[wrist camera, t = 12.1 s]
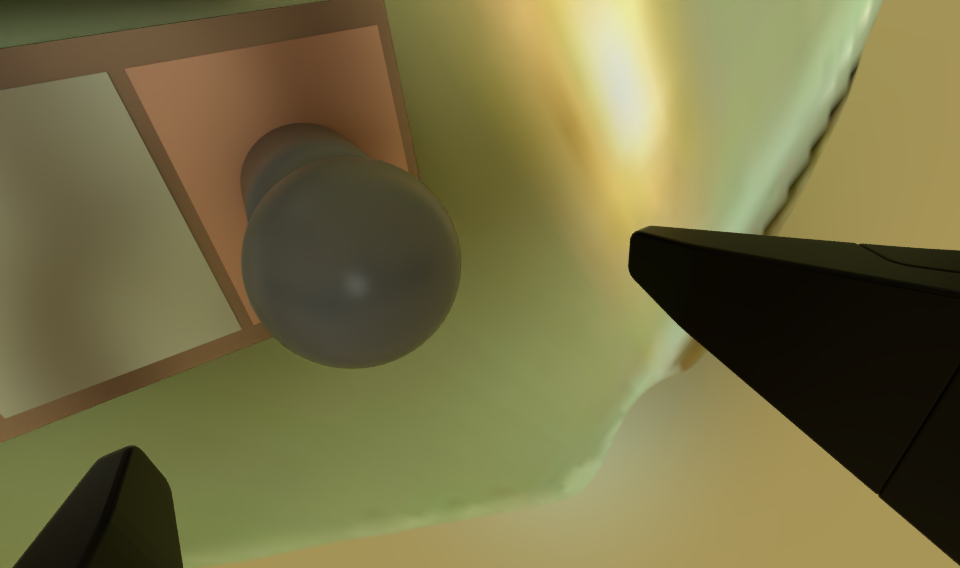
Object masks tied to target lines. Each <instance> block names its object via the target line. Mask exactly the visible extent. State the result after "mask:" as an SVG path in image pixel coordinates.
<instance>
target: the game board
mask: <svg viewBox="0 0 960 568" xmlns="http://www.w3.org/2000/svg"><path fill="white" fill-rule="evenodd" d="M294 123H312V124H318V125H321V126H325V127H327V128H330V129H332V130H334V131H336V132H338V133H340V134H341V135H342V136H344V137H345V138H347V139H348V140H349V141H350V142H352V143H353V144H354V145H355V146H356V147H358V148H359V149H360V150H361V151H363V152H364V153H365V154H366V155H368V156H369V157H370V158H372V159H377V160H381V161H384V162H387V163H390V164H392V165H395V166H397V167H399V168H401V169H403V170H405V171H406V172H408V173H410V174H412V175H413V176H415V177H416V178H417V179H419V180H420V177H419V172H418V167H417V162H416V157H415V152H414V148H413V143H412V138H411V133H410V128H409V123H408V118H407V113H406V108H405V103H404V98H403V93H402V88H401V83H400V78H399V73H398V68H397V63H396V58H395V53H394V48H393V43H392V38H391V33H390V28H389V23H388V18H387V13H386V8H385V3H384V0H327V1H320V2H314V3H307V4H300V5H293V6H286V7H280V8H273V9H266V10H259V11H252V12H246V13H239V14H232V15H225V16H219V17H212V18H205V19H198V20H191V21H185V22H178V23H171V24H164V25H157V26H151V27H144V28H137V29H130V30H123V31H117V32H110V33H103V34H96V35H89V36H83V37H76V38H69V39H62V40H56V41H49V42H42V43H35V44H28V45H22V46H15V47H8V48H1V49H0V443H1V442H4V441H6V440H9V439H11V438H14V437H16V436H19V435H21V434H24V433H27V432H29V431H32V430H34V429H37V428H39V427H42V426H45V425H47V424H50V423H52V422H55V421H57V420H60V419H62V418H65V417H68V416H70V415H73V414H75V413H78V412H80V411H83V410H86V409H88V408H91V407H93V406H96V405H98V404H101V403H104V402H106V401H109V400H111V399H114V398H116V397H119V396H121V395H124V394H127V393H129V392H132V391H134V390H137V389H139V388H142V387H145V386H147V385H150V384H152V383H155V382H157V381H160V380H162V379H165V378H168V377H170V376H173V375H175V374H178V373H180V372H183V371H186V370H188V369H191V368H193V367H196V366H198V365H201V364H204V363H206V362H209V361H211V360H214V359H216V358H219V357H221V356H224V355H227V354H229V353H232V352H234V351H237V350H239V349H242V348H245V347H247V346H250V345H252V344H255V343H257V342H260V341H262V340H265V339H268V338H270V337H273V336H272V335H271V334H270V333H269V332H268V331H267V329H266V328H265V327H264V325H263V324H262V323H261V322H260V320H259V319H258V317H257V316H256V314H255V312H254V310H253V308H252V307H251V305H250V302H249V299H248V297H247V294H246V291H245V288H244V283H243V278H242V273H241V252H242V244H243V238H244V235H245V231H246V228H247V225H248V222H247V217H246V212H245V207H244V202H243V197H242V192H241V184H240V177H241V170H242V166H243V163H244V160H245V158H246V156H247V154H248V152H249V151H250V149H251V148H252V146H253V145H254V144H255V143H256V142H257V141H258V140H259V139H260V138H261V137H262V136H264V135H265V134H267V133H268V132H270V131H271V130H273V129H276V128H278V127H280V126H284V125H288V124H294Z"/></svg>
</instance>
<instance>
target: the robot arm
mask: <svg viewBox="0 0 960 568" xmlns="http://www.w3.org/2000/svg"><path fill="white" fill-rule="evenodd" d="M628 268H629V272H630V275H631V276H632V278H633V279H634V280H635V281H636V282H637V283H638V284H639V285H640V286H641V287H642V288H643V289H644V290H645V291H646V292H647V293H648V294H649V295H650V296H651V297H652V299H653V300H654V301H655V302H656V303H657V304H658V305H659V306H660V307H661V308H662V309H663V310H664V311H665V312H666V313H667V314H668V315H669V316H670V317H671V318H672V319H673V320H674V321H675V322H676V323H677V324H678V325H679V326H680V327H681V328H682V329H683V330H684V331H686V332H687V333H688V334H689V335H690V336H691V337H692V338H694V339H695V340H696V341H697V342H698V343H699V344H701V345H702V346H703V347H704V348H705V349H706V350H708V351H709V352H710V353H711V354H712V355H714V356H715V357H716V358H717V359H718V360H719V361H721V362H722V363H723V364H724V365H725V366H727V367H728V368H729V369H730V370H731V371H732V372H733V373H735V374H736V375H737V376H738V377H740V378H741V379H742V380H743V381H744V382H745V383H746V384H748V385H749V386H750V387H751V388H753V389H754V390H755V391H756V392H757V393H758V394H760V396H762V397H763V398H764V399H765V400H766V401H768V402H769V403H770V404H771V405H772V406H773V407H775V408H776V409H777V410H778V411H780V412H781V413H782V414H783V415H784V416H785V417H786V418H788V419H789V420H790V421H791V422H792V423H793V424H795V425H796V426H797V427H798V428H799V429H800V430H802V431H803V432H804V433H805V434H806V435H808V436H809V437H810V438H811V439H812V440H813V441H814V442H816V443H817V444H818V445H819V446H821V447H822V448H823V449H824V450H825V451H826V452H827V453H829V454H830V455H831V456H832V457H833V458H834V459H836V460H837V461H838V462H839V463H840V464H842V465H843V466H844V467H845V468H846V469H847V470H849V471H850V472H851V473H852V474H853V475H854V476H856V477H857V478H858V479H859V480H860V481H862V482H863V483H864V484H865V485H866V486H867V487H868V488H870V489H871V490H872V491H873V492H874V493H876V494H878V496H879V497H880V498H881V499H882V500H883V501H884V502H885V503H887V504H888V505H889V506H890V507H891V508H893V509H894V510H895V511H896V512H897V513H898V514H899V515H901V516H902V517H903V518H904V519H906V520H907V521H908V522H909V523H910V524H911V525H912V526H914V527H915V528H916V529H917V530H918V531H919V532H921V533H922V534H923V535H924V536H925V537H926V538H928V539H929V540H930V541H931V542H932V543H934V544H935V545H936V546H937V547H938V548H939V549H941V550H942V551H943V552H944V553H945V554H946V555H948V556H949V557H950V558H951V559H952V560H953V561H955V562H956V563H957V564H958V565H959V566H960V251H957V250H941V249H924V248H910V247H897V246H884V245H872V244H859V245H858V244H856V243H847V242H836V241H824V240H813V239H801V238H790V237H778V236H766V235H755V234H743V233H731V232H720V231H708V230H696V229H685V228H673V227H661V226H647V227H645V228H642V229H640V230H638V231H635V232H634V233H633V234H632V236H631V238H630V248H629V262H628ZM13 568H183V563H182V556H181V550H180V543H179V537H178V530H177V524H176V517H175V511H174V504H173V498H172V492H171V489H170V486H169V484H168V482H167V480H166V478H165V477H164V476H163V475H162V473H161V472H160V471H159V470H158V469H157V468H156V466H155V465H154V464H153V463H152V462H151V460H150V459H149V458H148V457H147V456H146V454H145V453H144V452H143V451H142V450H141V449H140V448H138V447H137V446H127V447H124V448H122V449H120V450H117V451H115V452H113V453H110V454H108V455H105V456H103V457H101V458H100V459H98V460H97V461H96V462H95V463H94V465H93V466H92V467H91V468H90V470H89V471H88V472H87V473H86V475H85V476H84V477H83V479H82V480H81V481H80V482H79V484H78V485H77V486H76V487H75V489H74V490H73V491H72V493H71V494H70V495H69V496H68V498H67V499H66V500H65V501H64V503H63V504H62V505H61V507H60V508H59V509H58V510H57V512H56V513H55V514H54V516H53V517H52V518H51V519H50V521H49V522H48V523H47V524H46V526H45V527H44V528H43V530H42V531H41V532H40V533H39V535H38V536H37V537H36V538H35V540H34V541H33V542H32V544H31V545H30V546H29V547H28V549H27V550H26V551H25V552H24V554H23V555H22V556H21V558H20V559H19V560H18V561H17V563H16V564H15V565H14V567H13Z"/></svg>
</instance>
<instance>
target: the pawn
mask: <svg viewBox="0 0 960 568" xmlns="http://www.w3.org/2000/svg"><path fill="white" fill-rule="evenodd" d="M240 184H241V192H242V197H243V202H244V207H245V212H246V217H247V222H248V225H247V228H246V231H245V235H244V238H243V244H242V252H241V273H242V278H243V283H244V288H245V291H246V294H247V297H248V299H249V302H250V305H251V307H252V308H253V310H254V312H255V314H256V316H257V317H258V319H259V320H260V322H261V323H262V324H263V325H264V327H265V328H266V329H267V331H268V332H269V333H270V334H271V335H272V336H273V337H274V338H275V339H276V340H278V341H279V342H280V343H281V344H282V345H284V346H285V347H286V348H288V349H289V350H291V351H292V352H294V353H295V354H297V355H299V356H301V357H303V358H305V359H308V360H310V361H313V362H316V363H319V364H322V365H326V366H330V367H336V368H349V369H355V368H368V367H375V366H379V365H383V364H386V363H389V362H392V361H395V360H397V359H399V358H401V357H403V356H405V355H407V354H408V353H410V352H412V351H414V350H415V349H416V348H418V347H419V346H420V345H422V344H423V343H424V342H425V341H426V340H428V339H429V338H430V337H431V336H432V335H433V334H434V332H435V331H436V330H437V329H438V328H439V327H440V325H441V324H442V322H443V321H444V320H445V318H446V316H447V314H448V313H449V311H450V309H451V306H452V304H453V302H454V299H455V297H456V293H457V290H458V287H459V281H460V272H461V254H460V247H459V242H458V238H457V234H456V230H455V228H454V225H453V222H452V220H451V218H450V217H449V215H448V213H447V211H446V209H445V208H444V206H443V204H442V203H441V202H440V200H439V199H438V198H437V196H436V195H435V194H434V193H433V192H432V191H431V190H430V189H429V188H428V187H427V186H426V185H425V184H424V183H423V182H421V181H420V180H419V179H417V178H416V177H415V176H413V175H412V174H410V173H408V172H406V171H405V170H403V169H401V168H399V167H397V166H395V165H392V164H390V163H387V162H384V161H381V160H377V159H372V158H370V157H369V156H368V155H366V154H365V153H364V152H363V151H361V150H360V149H359V148H358V147H356V146H355V145H354V144H353V143H352V142H350V141H349V140H348V139H347V138H345V137H344V136H342V135H341V134H340V133H338V132H336V131H334V130H332V129H330V128H327V127H325V126H321V125H318V124H312V123H294V124H288V125H284V126H280V127H278V128H276V129H273V130H271V131H270V132H268V133H267V134H265V135H264V136H262V137H261V138H260V139H259V140H258V141H257V142H256V143H255V144H254V145H253V146H252V148H251V149H250V151H249V152H248V154H247V156H246V158H245V160H244V163H243V166H242V170H241V177H240Z"/></svg>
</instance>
